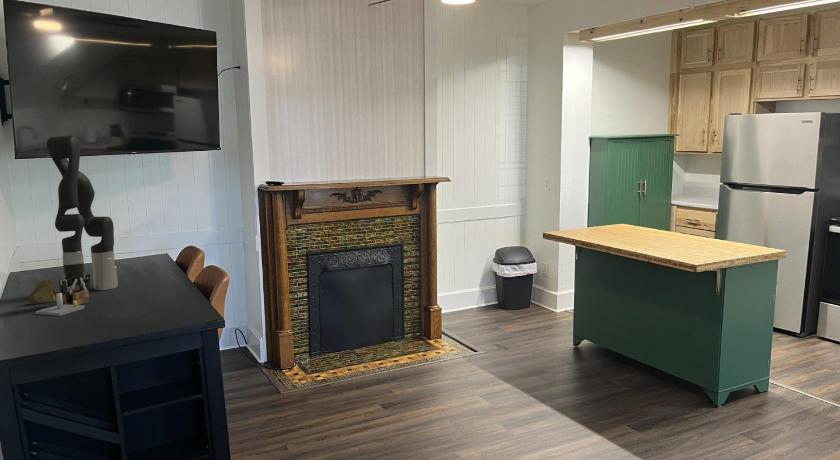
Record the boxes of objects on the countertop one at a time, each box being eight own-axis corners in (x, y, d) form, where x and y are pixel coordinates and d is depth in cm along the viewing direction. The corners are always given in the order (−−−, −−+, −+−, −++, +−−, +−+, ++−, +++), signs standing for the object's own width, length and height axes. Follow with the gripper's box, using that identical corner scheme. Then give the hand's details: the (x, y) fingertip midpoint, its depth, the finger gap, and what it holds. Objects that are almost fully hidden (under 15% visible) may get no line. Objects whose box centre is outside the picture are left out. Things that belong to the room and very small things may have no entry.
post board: (61, 306, 256) (59, 289, 255) (84, 308, 253) (83, 291, 252) (35, 313, 245) (33, 296, 244) (59, 315, 242) (58, 298, 241)
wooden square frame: (77, 300, 265) (76, 289, 265) (89, 301, 264) (88, 290, 263) (64, 304, 259) (63, 292, 259) (76, 305, 258) (75, 293, 257)
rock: (22, 301, 257) (48, 296, 258) (23, 282, 260) (49, 278, 262) (34, 311, 266) (59, 306, 268) (35, 293, 270) (60, 288, 272)
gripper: (80, 258, 267) (83, 297, 269) (51, 264, 253) (55, 305, 256) (94, 259, 265) (97, 298, 267) (66, 265, 251) (69, 306, 253)
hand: (76, 301), depth 261 cm, fingers closed on wooden square frame, 6 cm apart
